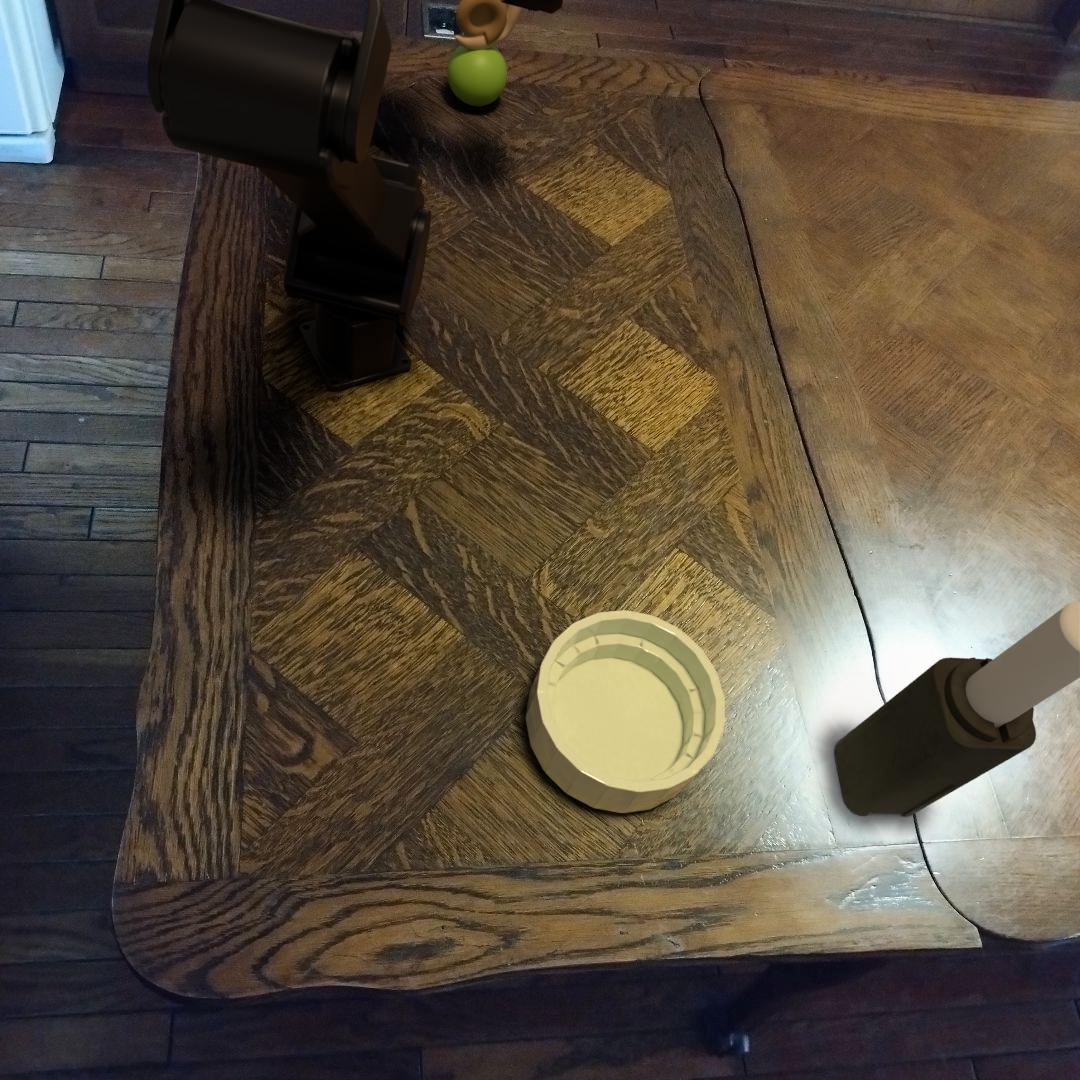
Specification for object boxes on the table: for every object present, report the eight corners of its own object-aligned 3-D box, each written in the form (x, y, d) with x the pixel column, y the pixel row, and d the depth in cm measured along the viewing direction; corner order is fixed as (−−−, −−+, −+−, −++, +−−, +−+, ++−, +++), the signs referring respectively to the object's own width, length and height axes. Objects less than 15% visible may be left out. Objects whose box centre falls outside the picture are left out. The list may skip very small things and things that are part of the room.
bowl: (732, 768, 62) (761, 741, 57) (579, 848, 57) (598, 825, 53) (642, 620, 66) (662, 585, 62) (493, 684, 62) (504, 651, 58)
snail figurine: (521, 115, 92) (543, -13, 82) (455, 121, 90) (470, -8, 79) (500, 78, 94) (519, -50, 84) (436, 84, 92) (448, -47, 82)
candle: (903, 739, 65) (1174, 545, 44) (921, 817, 62) (1219, 651, 41) (830, 737, 64) (1071, 539, 43) (846, 816, 61) (1109, 646, 40)
